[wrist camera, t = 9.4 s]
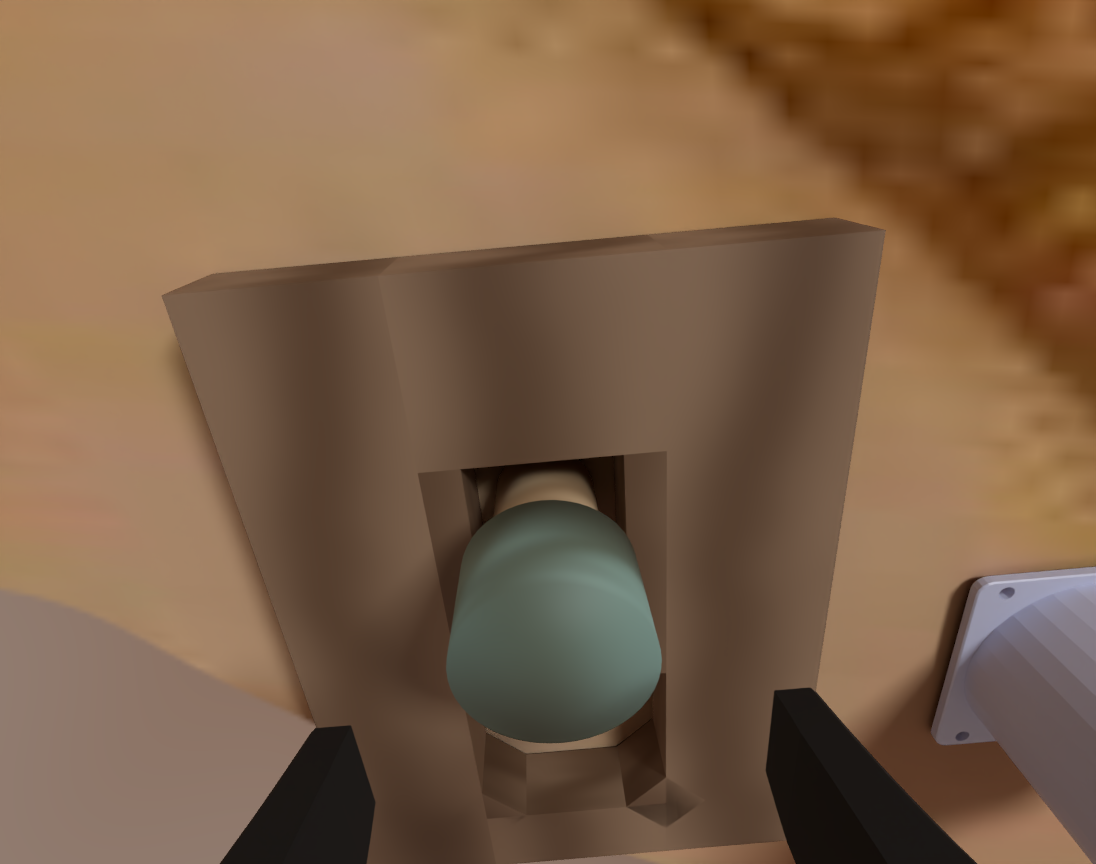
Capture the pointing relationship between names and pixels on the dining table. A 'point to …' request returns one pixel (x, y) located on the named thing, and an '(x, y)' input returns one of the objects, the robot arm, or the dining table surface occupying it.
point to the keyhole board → (540, 436)
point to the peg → (551, 613)
